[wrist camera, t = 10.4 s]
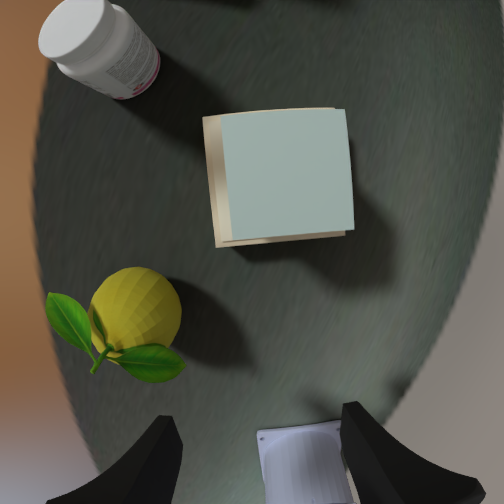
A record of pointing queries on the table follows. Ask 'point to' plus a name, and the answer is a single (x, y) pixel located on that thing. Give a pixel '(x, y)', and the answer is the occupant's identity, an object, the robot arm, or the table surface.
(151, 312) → the lemon
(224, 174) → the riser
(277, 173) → the teal block
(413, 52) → the table surface
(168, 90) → the table surface
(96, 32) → the pill bottle
